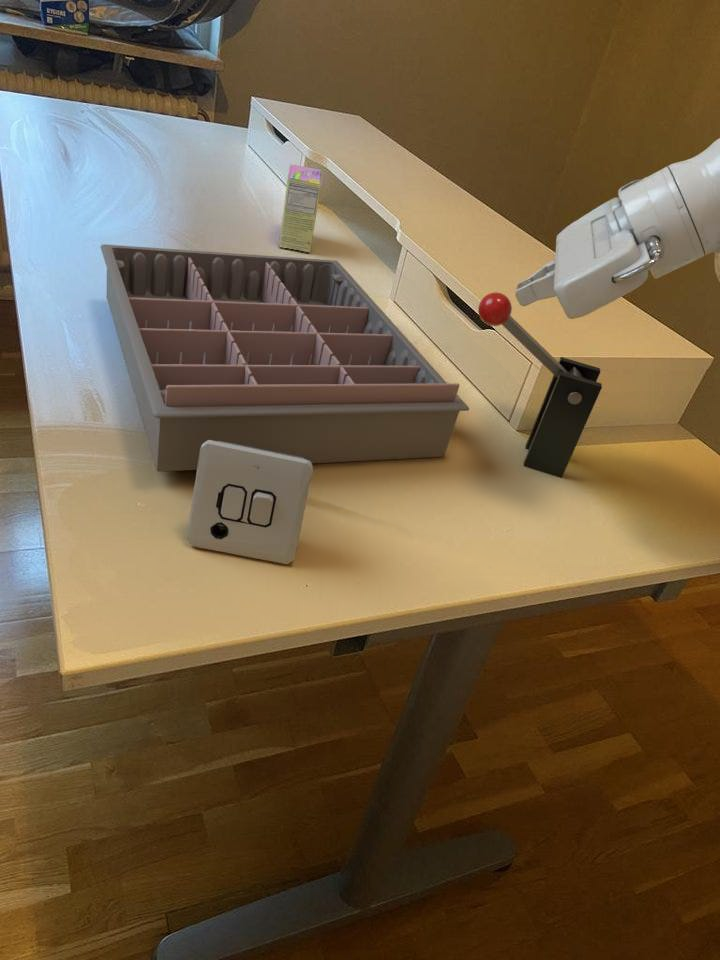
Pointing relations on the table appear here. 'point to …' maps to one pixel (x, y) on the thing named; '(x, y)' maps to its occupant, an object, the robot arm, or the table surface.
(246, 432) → the organizer tray
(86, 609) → the table surface
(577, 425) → the switch bracket
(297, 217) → the box
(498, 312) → the switch lever
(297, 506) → the electrical switch
